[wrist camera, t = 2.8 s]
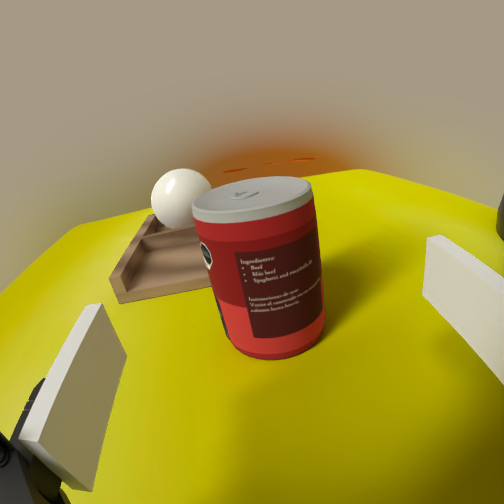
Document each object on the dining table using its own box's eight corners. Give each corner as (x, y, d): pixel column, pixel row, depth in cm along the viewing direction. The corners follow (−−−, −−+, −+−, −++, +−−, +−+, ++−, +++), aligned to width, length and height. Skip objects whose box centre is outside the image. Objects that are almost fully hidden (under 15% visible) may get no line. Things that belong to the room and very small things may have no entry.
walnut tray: (153, 232, 52) (148, 215, 51) (237, 214, 53) (233, 195, 51) (119, 303, 32) (108, 278, 31) (249, 278, 33) (243, 250, 31)
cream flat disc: (161, 233, 47) (146, 176, 44) (219, 220, 47) (206, 161, 44) (160, 236, 46) (144, 178, 43) (219, 223, 46) (206, 163, 43)
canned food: (256, 294, 30) (232, 177, 25) (339, 308, 25) (329, 174, 21) (207, 347, 24) (164, 212, 19) (301, 374, 20) (278, 213, 15)
